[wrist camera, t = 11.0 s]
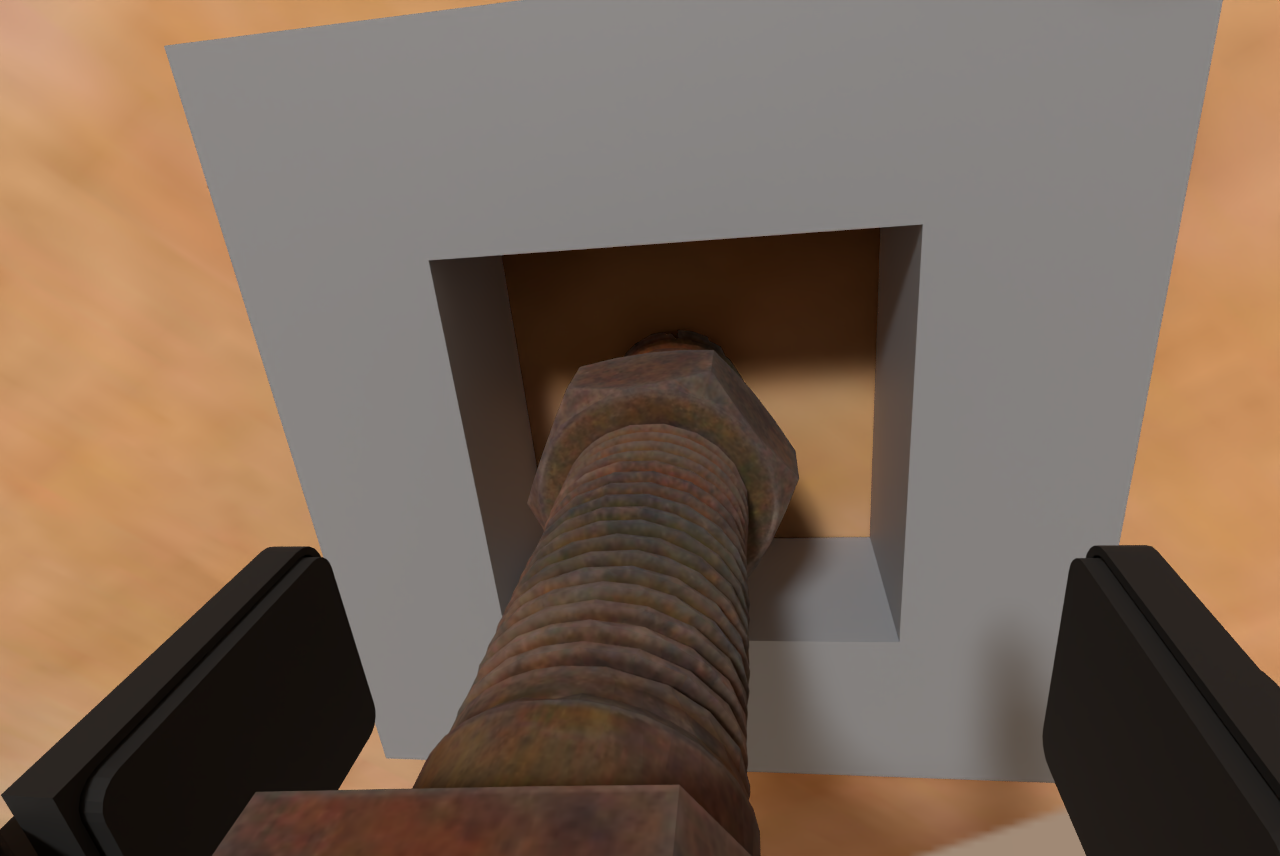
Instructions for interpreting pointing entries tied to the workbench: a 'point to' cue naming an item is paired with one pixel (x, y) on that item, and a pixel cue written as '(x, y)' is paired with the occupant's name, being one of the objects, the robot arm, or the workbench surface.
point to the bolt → (599, 643)
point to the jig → (707, 210)
